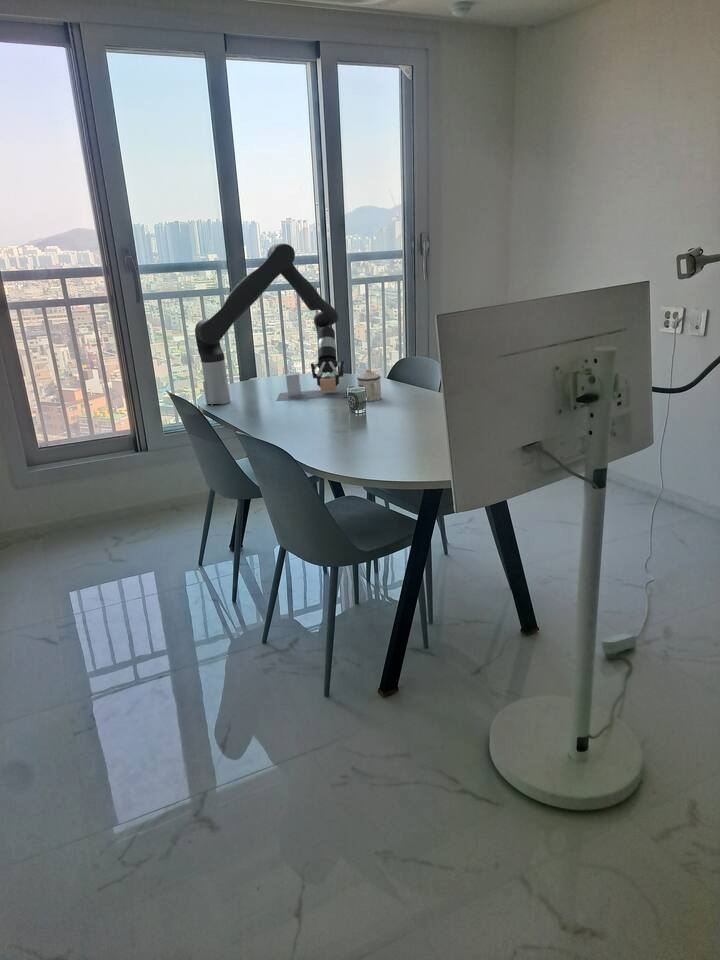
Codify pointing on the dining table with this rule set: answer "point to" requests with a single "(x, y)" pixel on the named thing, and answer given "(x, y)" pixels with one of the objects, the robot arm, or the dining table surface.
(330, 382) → the cap lid
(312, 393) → the slate mat
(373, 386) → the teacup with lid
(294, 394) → the steel tin
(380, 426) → the dining table surface
